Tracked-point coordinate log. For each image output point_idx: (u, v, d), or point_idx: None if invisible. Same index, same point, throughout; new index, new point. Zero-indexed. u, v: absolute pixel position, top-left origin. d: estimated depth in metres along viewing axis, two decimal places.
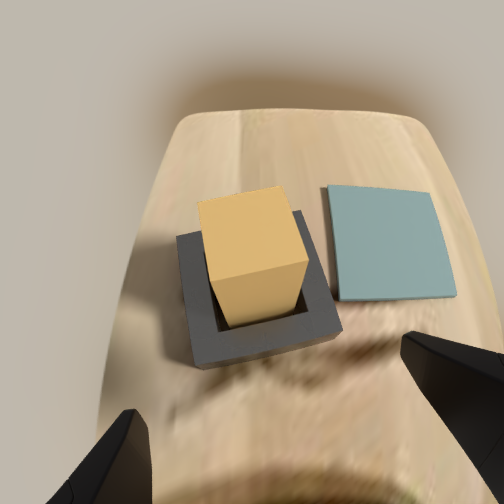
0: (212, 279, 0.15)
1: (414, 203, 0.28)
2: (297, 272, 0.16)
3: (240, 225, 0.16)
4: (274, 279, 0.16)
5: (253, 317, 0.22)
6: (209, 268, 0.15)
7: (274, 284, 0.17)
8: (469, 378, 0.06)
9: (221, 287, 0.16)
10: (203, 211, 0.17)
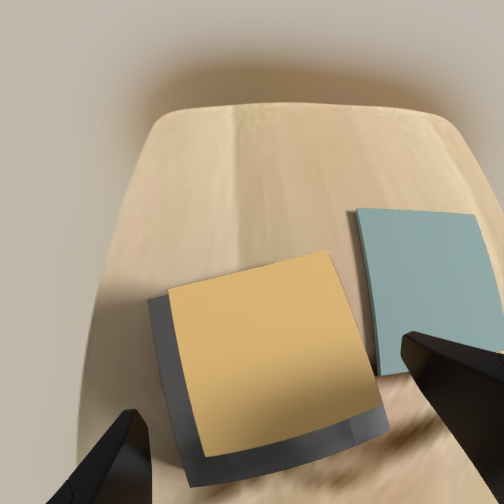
0: (209, 453, 0.07)
1: (460, 230, 0.20)
2: None
3: (254, 343, 0.08)
4: None
5: None
6: (201, 433, 0.07)
7: None
8: (469, 378, 0.06)
9: None
10: (181, 309, 0.08)
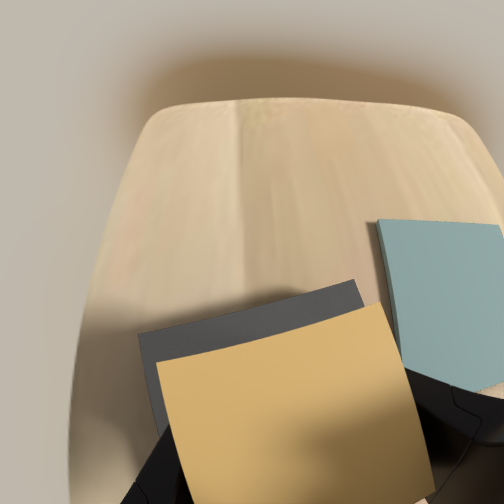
0: None
1: (486, 243, 0.17)
2: None
3: (281, 440, 0.05)
4: None
5: None
6: None
7: None
8: None
9: None
10: (176, 393, 0.05)
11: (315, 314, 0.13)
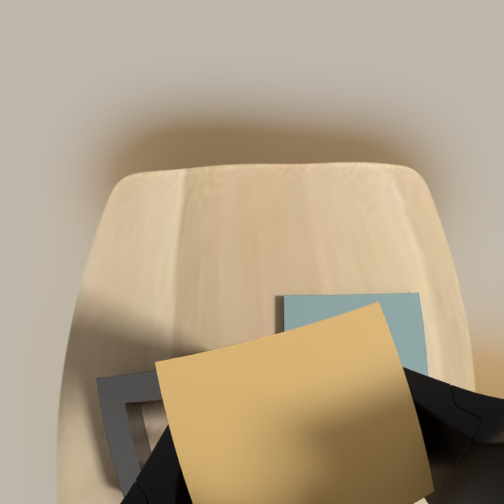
0: None
1: (396, 312, 0.22)
2: None
3: (280, 440, 0.05)
4: None
5: None
6: None
7: None
8: None
9: None
10: (175, 392, 0.05)
11: None
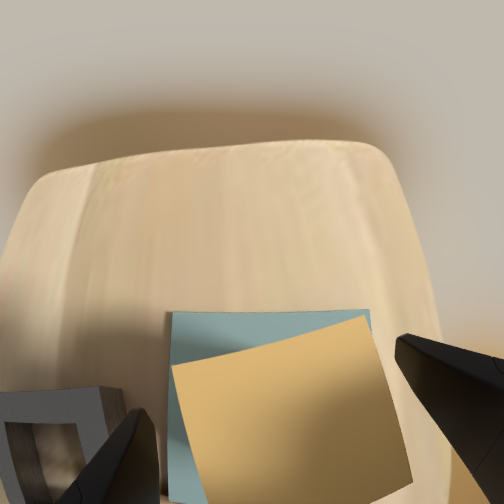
0: None
1: None
2: None
3: (277, 432, 0.06)
4: None
5: None
6: None
7: None
8: (463, 382, 0.06)
9: None
10: (188, 391, 0.06)
11: (67, 408, 0.12)
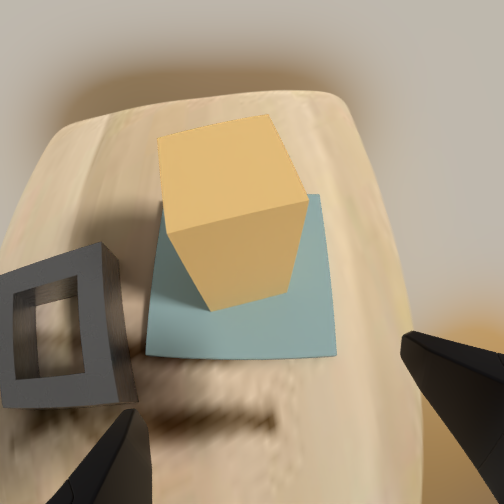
0: (170, 230, 0.10)
1: None
2: (293, 222, 0.11)
3: (211, 159, 0.11)
4: (260, 231, 0.11)
5: (237, 293, 0.17)
6: (166, 216, 0.10)
7: (262, 242, 0.12)
8: (469, 378, 0.06)
9: (185, 244, 0.11)
10: (164, 147, 0.12)
11: (72, 264, 0.18)
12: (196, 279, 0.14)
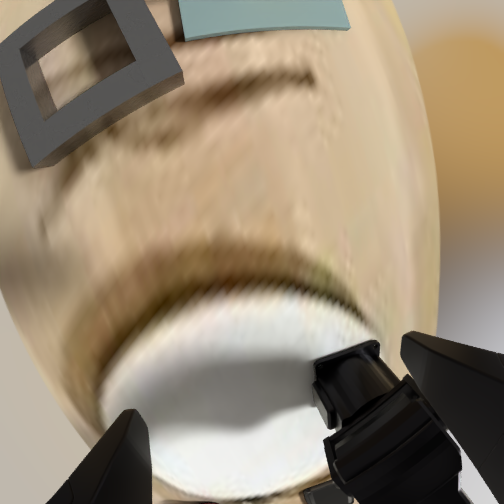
0: None
1: None
2: None
3: None
4: None
5: None
6: None
7: None
8: (469, 378, 0.06)
9: None
10: None
11: None
12: None
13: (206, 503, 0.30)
